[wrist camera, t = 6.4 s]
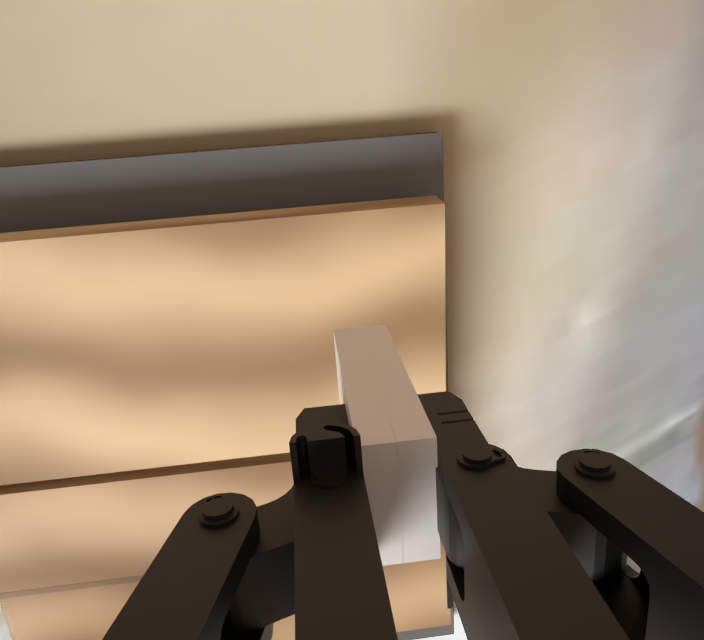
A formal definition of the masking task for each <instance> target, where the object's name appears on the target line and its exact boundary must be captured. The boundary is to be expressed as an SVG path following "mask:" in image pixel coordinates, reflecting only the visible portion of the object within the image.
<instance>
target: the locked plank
mask: <svg viewBox="0 0 704 640" xmlns="http://www.w3.org/2000/svg"><path fill="white" fill-rule="evenodd" d="M293 485H294V482H293V473H292V465H291V457H290V452H289V453H280V454H271V455H263V456H254V457H245V458H236V459H228V460H219V461H210V462H201V463H193V464H184V465H175V466H166V467H158V468H149V469H140V470H131V471H123V472H114V473H105V474H96V475H88V476H79V477H70V478H61V479H53V480H44V481H35V482H26V483H18V484H9V485H0V603H1V606H2V609H3V612H4V615H5V618H6V622H7V625H8V628H9V631H10V634H11V637H12V640H102V639H103V637H104V636H105V634H106V633H107V631H108V630H109V628H110V626H111V625H112V623H113V622H114V620H115V619H116V617H117V616H118V614H119V613H120V611H121V609H122V608H123V606H124V605H125V603H126V602H127V600H128V599H129V597H130V596H131V594H132V592H133V591H134V589H135V588H136V586H137V585H138V583H139V582H140V580H141V578H142V577H143V575H144V574H145V572H146V571H147V569H148V568H149V566H150V565H151V563H152V561H153V560H154V558H155V557H156V555H157V554H158V552H159V551H160V549H161V548H162V546H163V544H164V543H165V541H166V540H167V538H168V537H169V535H170V534H171V532H172V530H173V529H174V527H175V526H176V524H177V523H178V521H179V520H180V518H181V517H182V515H183V514H184V512H185V511H186V510H187V509H188V508H189V507H190V506H191V505H193V504H194V503H196V502H198V501H199V500H201V499H203V498H205V497H208V496H212V495H214V494H219V493H230V492H232V493H238V494H244V495H246V496H247V497H249V498H251V499H253V501H254V503H255V505H256V506H257V507H258V506H261V505H264V504H267V503H269V502H271V501H274V500H276V499H278V498H280V497H281V496H283V495H285V494H286V493H287V492H288V491H289V490H290V489H291V488H292V486H293ZM440 552H441V559H433V560H425V561H417V562H410V563H402V564H394V565H386V566H383V571H384V575H385V580H386V585H387V590H388V595H389V599H390V604H391V609H392V614H393V619H394V623H395V628H396V632H401V631H409V630H416V629H423V628H431V627H438V626H445V625H451V612H450V609H448V608H447V582H446V553H445V550H444V547H443V544H442V541H441V539H440ZM271 640H295V614H294V615H292V616H289V617H287V618H284V619H282V620H279V621H277V622H274V626H273V635H272V638H271Z"/></svg>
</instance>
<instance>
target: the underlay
mask: <svg viewBox="0 0 704 640" xmlns="http://www.w3.org/2000/svg"><path fill="white" fill-rule="evenodd" d="M433 195H436V196H437V197H438V198H439V199H440V200H442V201H443V202H444V195H443V153H442V133H439V132H433V133H420V134H408V135H395V136H383V137H370V138H358V139H345V140H333V141H320V142H307V143H295V144H282V145H270V146H257V147H245V148H232V149H219V150H207V151H194V152H182V153H169V154H157V155H144V156H131V157H119V158H106V159H94V160H81V161H69V162H56V163H44V164H31V165H18V166H6V167H0V233H7V232H18V231H30V230H41V229H53V228H64V227H76V226H88V225H99V224H111V223H122V222H134V221H145V220H157V219H168V218H180V217H191V216H203V215H214V214H226V213H237V212H249V211H260V210H272V209H283V208H295V207H306V206H318V205H329V204H341V203H352V202H364V201H376V200H387V199H399V198H410V197H422V196H433ZM445 318H446V279H445ZM446 391H448V364H447V322H446ZM450 612H451V625H445V626H438V627H431V628H423V629H416V630H409V631H401V632H396V633H397V638H398V640H413V639H420V638H427V637H435V636H442V635H449V634H454V617H453V608H450Z"/></svg>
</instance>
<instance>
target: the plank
mask: <svg viewBox="0 0 704 640" xmlns="http://www.w3.org/2000/svg"><path fill="white" fill-rule="evenodd" d="M377 325H386V328H387V330H388V332H389V334H390V336H391V339H392V341H393V343H394V345H395V347H396V349H397V352H398V354H399V356H400V358H401V360H402V363H403V365H404V367H405V369H406V371H407V373H408V376H409V378H410V380H411V382H412V384H413V387H414V389H415V391H416V393H417V394H426V393H435V392H445V391H446V318H445V203H444V202H443V201H442V200H440V199H439V198H438V197H437V196H436V195H433V196H422V197H410V198H399V199H387V200H376V201H364V202H352V203H341V204H329V205H318V206H306V207H295V208H283V209H272V210H260V211H249V212H237V213H226V214H214V215H203V216H191V217H180V218H168V219H157V220H145V221H134V222H122V223H111V224H99V225H88V226H76V227H64V228H53V229H41V230H30V231H18V232H7V233H0V485H9V484H18V483H26V482H35V481H44V480H53V479H61V478H70V477H79V476H88V475H96V474H105V473H114V472H123V471H131V470H140V469H149V468H158V467H166V466H175V465H184V464H193V463H201V462H210V461H219V460H228V459H236V458H245V457H254V456H263V455H271V454H280V453H289V452H290V448H289V442H290V439H291V437H292V436H293V435H294V434H295V433H296V418H297V417H298V415H299V414H300V413H301V412H302V410H303V409H304V408H311V407H320V406H330V405H339V404H340V401H339V389H338V378H337V367H336V355H335V344H334V332H333V330H337V329H347V328H357V327H367V326H377Z"/></svg>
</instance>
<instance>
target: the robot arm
mask: <svg viewBox="0 0 704 640" xmlns="http://www.w3.org/2000/svg"><path fill="white" fill-rule="evenodd" d="M333 332H334V344H335V355H336V367H337V378H338V389H339V401H340V404H339V405H330V406H320V407H311V408H304V409H303V410H302V412H301V413H300V414H299V415H298V417H297V418H296V433H295V434H294V435H293V436H292V437H291V439H290V442H289V448H290V457H291V465H292V473H293V482H294V485H293V486H292V488H291V489H290V490H289V491H288V492H287V493H286V494H285V495H283V496H281V497H280V498H278V499H276V500H274V501H271V502H269V503H267V504H264V505H261V506H258V507H257V506H256V505H255V503H254V501H253V499H251V498H249V497H247V496H246V495H244V494H238V493H232V492H230V493H219V494H214V495H212V496H208V497H205V498H203V499H201V500H199V501H198V502H196V503H194V504H193V505H191V506H190V507H189V508H188V509H187V510H186V511H185V512H184V514H183V515H182V517H181V518H180V520H179V521H178V523H177V524H176V526H175V527H174V529H173V530H172V532H171V534H170V535H169V537H168V538H167V540H166V541H165V543H164V544H163V546H162V548H161V549H160V551H159V552H158V554H157V555H156V557H155V558H154V560H153V561H152V563H151V565H150V566H149V568H148V569H147V571H146V572H145V574H144V575H143V577H142V578H141V580H140V582H139V583H138V585H137V586H136V588H135V589H134V591H133V592H132V594H131V596H130V597H129V599H128V600H127V602H126V603H125V605H124V606H123V608H122V609H121V611H120V613H119V614H118V616H117V617H116V619H115V620H114V622H113V623H112V625H111V626H110V628H109V630H108V631H107V633H106V634H105V636H104V637H103V639H102V640H271V638H272V635H273V626H274V622H277V621H279V620H282V619H284V618H287V617H289V616H292V615H294V614H295V640H398V638H397V633H396V628H395V623H394V619H393V614H392V609H391V604H390V599H389V595H388V590H387V585H386V580H385V575H384V571H383V566H386V565H394V564H402V563H410V562H417V561H425V560H433V559H441V552H440V539H441V541H442V544H443V547H444V550H445V553H446V582H447V608H448V609H450V608H453V598H454V600H455V603H456V606H457V609H458V612H459V615H460V618H461V621H462V624H463V627H464V630H465V633H466V636H467V639H468V640H704V512H702V511H701V510H699V509H698V508H696V507H695V506H693V505H692V504H690V503H689V502H687V501H686V500H684V499H683V498H681V497H680V496H678V495H677V494H675V493H674V492H672V491H671V490H669V489H668V488H666V487H665V486H663V485H662V484H660V483H659V482H657V481H656V480H654V479H653V478H651V477H650V476H648V475H647V474H645V473H644V472H642V471H641V470H639V469H638V468H636V467H635V466H633V465H632V464H630V463H629V462H627V461H626V460H624V459H622V458H620V457H618V456H616V455H614V454H612V453H608V452H604V451H601V450H597V449H592V450H591V449H581V450H573V451H570V452H567V453H565V454H563V455H561V457H560V458H559V459H558V461H557V469H556V471H543V470H532V469H525V468H521V467H518V466H517V465H516V463H515V462H514V460H513V459H512V457H511V456H510V455H509V454H508V453H507V452H506V451H505V450H503V449H501V448H499V447H496V446H494V445H490V444H488V442H487V441H486V439H485V437H484V436H483V434H482V432H481V431H480V429H479V427H478V426H477V424H476V423H475V421H473V418H472V416H471V414H470V413H469V412H468V409H467V408H466V406H465V404H464V403H463V401H462V400H461V399H460V398H458V397H456V396H455V395H453V394H451V393H450V392H448V391H445V392H435V393H426V394H417V393H416V391H415V389H414V387H413V384H412V382H411V380H410V378H409V376H408V373H407V371H406V369H405V367H404V365H403V363H402V360H401V358H400V356H399V354H398V352H397V349H396V347H395V345H394V343H393V341H392V339H391V336H390V334H389V332H388V330H387V328H386V325H377V326H367V327H357V328H347V329H337V330H333ZM627 556H629V557H630V558H631V559H632V560H633V561H634V562H635V563H637V565H638V566H639V567H640V568H641V571H640V574H639V573H637V572H636V571H634V570H633V569H632V568H631V567H630V566H629V565H628V564H627Z"/></svg>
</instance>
